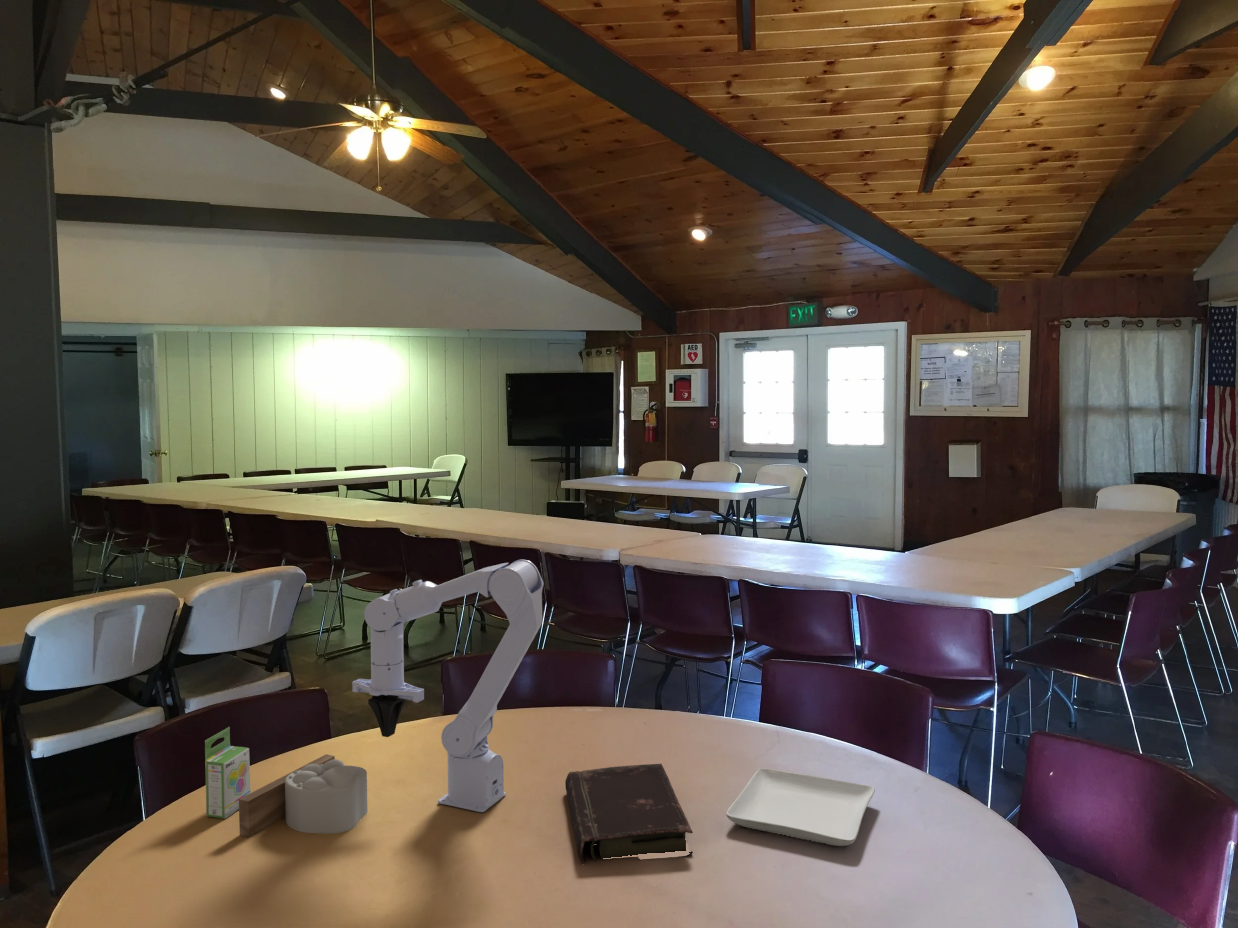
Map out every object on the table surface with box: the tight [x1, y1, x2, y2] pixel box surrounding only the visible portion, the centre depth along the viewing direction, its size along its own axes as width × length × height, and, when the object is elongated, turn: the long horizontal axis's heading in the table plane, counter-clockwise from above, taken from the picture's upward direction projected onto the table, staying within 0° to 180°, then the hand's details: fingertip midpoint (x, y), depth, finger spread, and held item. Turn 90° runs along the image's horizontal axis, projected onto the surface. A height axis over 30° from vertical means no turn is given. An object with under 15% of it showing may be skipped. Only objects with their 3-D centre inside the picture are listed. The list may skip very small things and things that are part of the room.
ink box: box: [204, 726, 252, 820], centre depth 149 cm, size 7×4×13 cm, turn 168°
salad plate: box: [725, 767, 876, 847], centre depth 146 cm, size 21×21×3 cm
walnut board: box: [238, 754, 336, 838], centre depth 148 cm, size 2×20×6 cm, turn 156°
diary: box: [564, 763, 694, 865], centre depth 144 cm, size 19×25×5 cm
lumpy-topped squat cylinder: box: [285, 758, 368, 834], centre depth 146 cm, size 10×13×9 cm
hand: (388, 734), depth 156 cm, fingers closed
